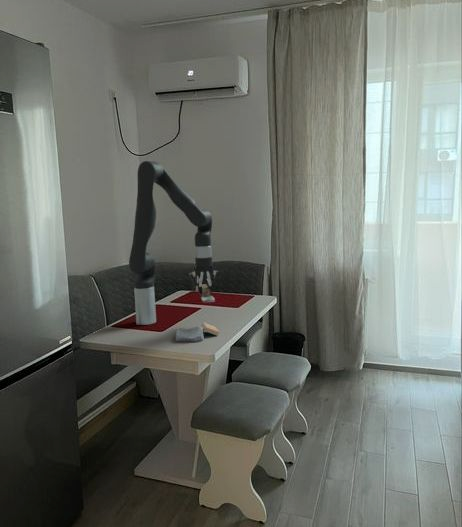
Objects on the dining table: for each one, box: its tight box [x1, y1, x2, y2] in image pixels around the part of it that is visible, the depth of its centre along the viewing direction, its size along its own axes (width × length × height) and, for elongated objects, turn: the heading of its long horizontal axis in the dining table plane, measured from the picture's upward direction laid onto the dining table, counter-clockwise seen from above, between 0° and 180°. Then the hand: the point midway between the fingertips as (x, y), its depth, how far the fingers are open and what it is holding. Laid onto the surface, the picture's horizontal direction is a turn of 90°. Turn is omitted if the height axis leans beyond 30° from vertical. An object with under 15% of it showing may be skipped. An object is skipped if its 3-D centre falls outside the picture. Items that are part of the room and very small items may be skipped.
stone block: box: [175, 326, 205, 343], centre depth 189 cm, size 12×5×10 cm
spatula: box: [200, 283, 216, 304], centre depth 201 cm, size 5×18×4 cm, turn 12°
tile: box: [201, 322, 220, 336], centre depth 194 cm, size 6×2×8 cm
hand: (205, 294), depth 203 cm, fingers closed on spatula, 3 cm apart
